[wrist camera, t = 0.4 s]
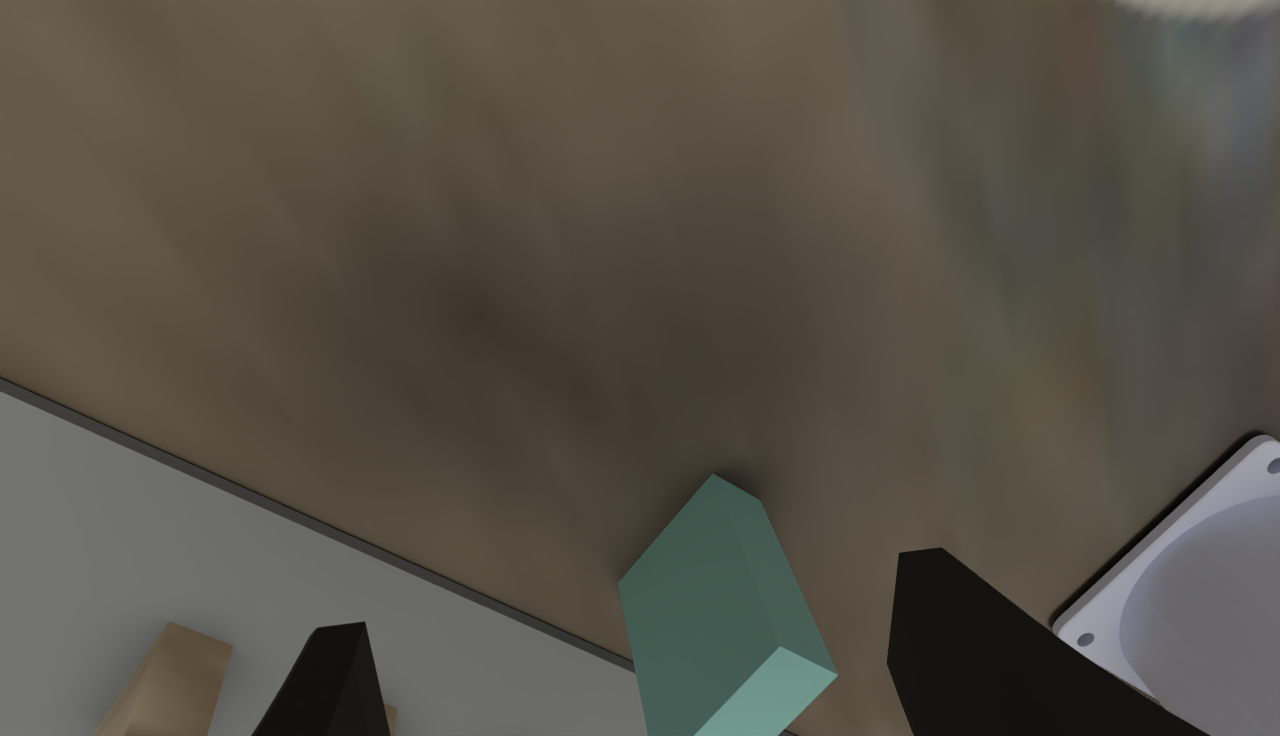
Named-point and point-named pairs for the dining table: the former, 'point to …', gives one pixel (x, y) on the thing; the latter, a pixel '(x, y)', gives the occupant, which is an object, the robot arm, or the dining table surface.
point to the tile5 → (171, 687)
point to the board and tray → (247, 599)
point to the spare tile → (721, 623)
